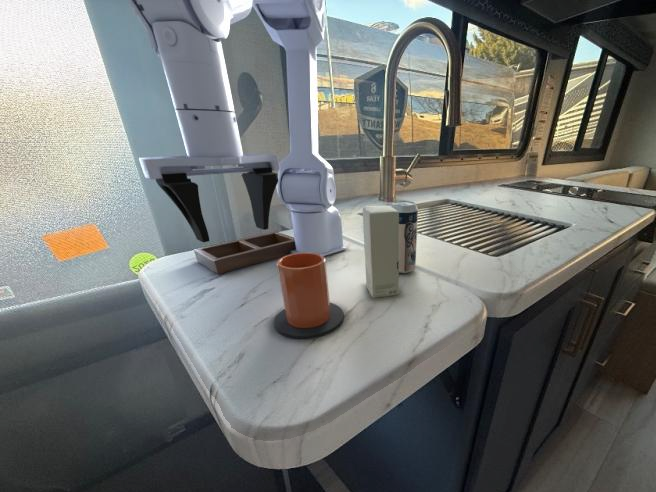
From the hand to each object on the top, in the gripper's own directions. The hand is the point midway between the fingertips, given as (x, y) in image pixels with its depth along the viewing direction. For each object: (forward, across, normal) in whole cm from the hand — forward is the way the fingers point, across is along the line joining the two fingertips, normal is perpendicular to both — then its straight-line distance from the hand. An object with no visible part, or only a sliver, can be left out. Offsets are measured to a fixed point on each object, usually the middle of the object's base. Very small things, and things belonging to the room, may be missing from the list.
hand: (234, 233), depth 41 cm
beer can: (+11, +25, -8) cm, 28 cm away
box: (+11, +16, -11) cm, 22 cm away
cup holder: (+10, +10, +19) cm, 24 cm away
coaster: (+10, +3, -10) cm, 15 cm away
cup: (+10, +3, -10) cm, 14 cm away
